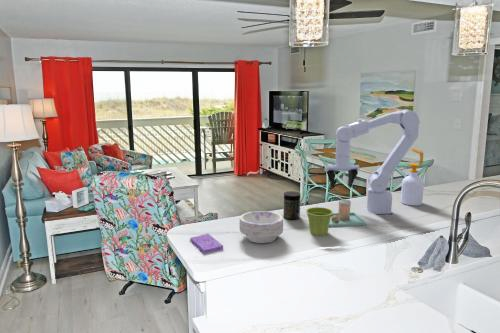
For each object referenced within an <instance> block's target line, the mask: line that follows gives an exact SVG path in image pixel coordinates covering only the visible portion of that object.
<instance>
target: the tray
mask: <svg viewBox="0 0 500 333" xmlns="http://www.w3.org/2000/svg"><path fill="white" fill-rule="evenodd" d="M334 215H337V216H338V212H333V214H332V215H331V218H332V216H334ZM331 218H330V223H329V227H330V228H331V227H332V228H333V227H347V226H348V227H351V226H352V227H353V226H366V225H367V222H366V221H365V220H364V219H363V218H362V217H361V216H360V215H358V214H357V213H356V212H355V211H354V212H353V211H350V220H347V221H343V220H340V221H339V223H333V222H332V220H331Z"/></svg>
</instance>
